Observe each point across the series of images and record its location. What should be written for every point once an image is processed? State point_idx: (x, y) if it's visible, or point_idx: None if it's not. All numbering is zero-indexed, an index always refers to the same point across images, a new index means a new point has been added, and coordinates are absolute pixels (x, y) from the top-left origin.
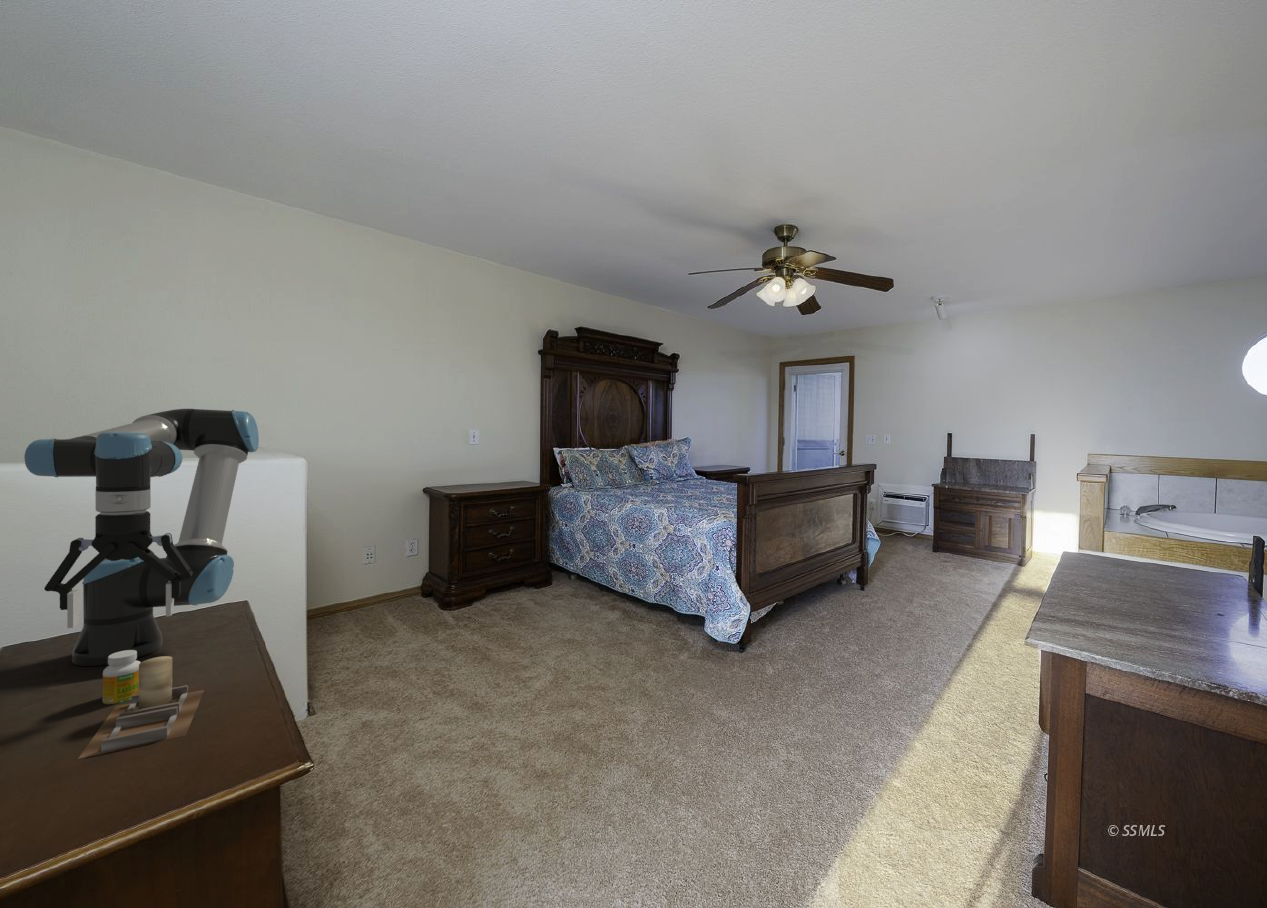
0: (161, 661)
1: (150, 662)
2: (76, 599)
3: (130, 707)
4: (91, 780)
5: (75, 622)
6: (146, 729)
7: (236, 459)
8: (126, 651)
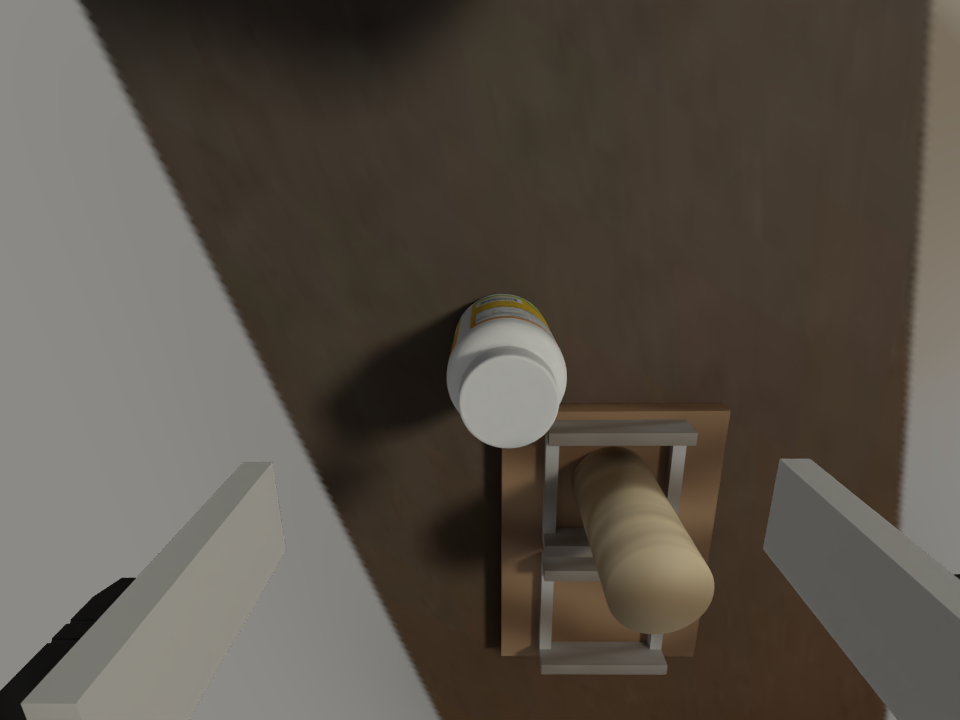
0: (679, 601)
1: (642, 592)
2: (165, 661)
3: (550, 468)
4: (541, 698)
5: (271, 532)
6: None
7: None
8: (516, 375)
